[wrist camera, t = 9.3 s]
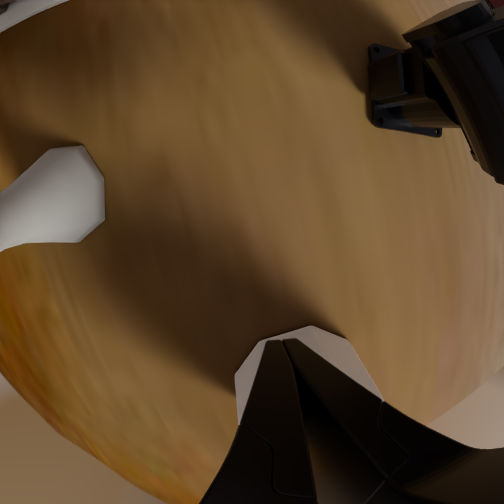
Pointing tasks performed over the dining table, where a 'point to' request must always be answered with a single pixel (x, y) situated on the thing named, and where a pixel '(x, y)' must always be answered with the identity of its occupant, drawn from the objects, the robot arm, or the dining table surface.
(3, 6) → the domino
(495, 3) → the decorative ball
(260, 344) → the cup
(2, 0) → the domino
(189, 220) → the dining table surface
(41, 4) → the runner
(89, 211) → the flask
